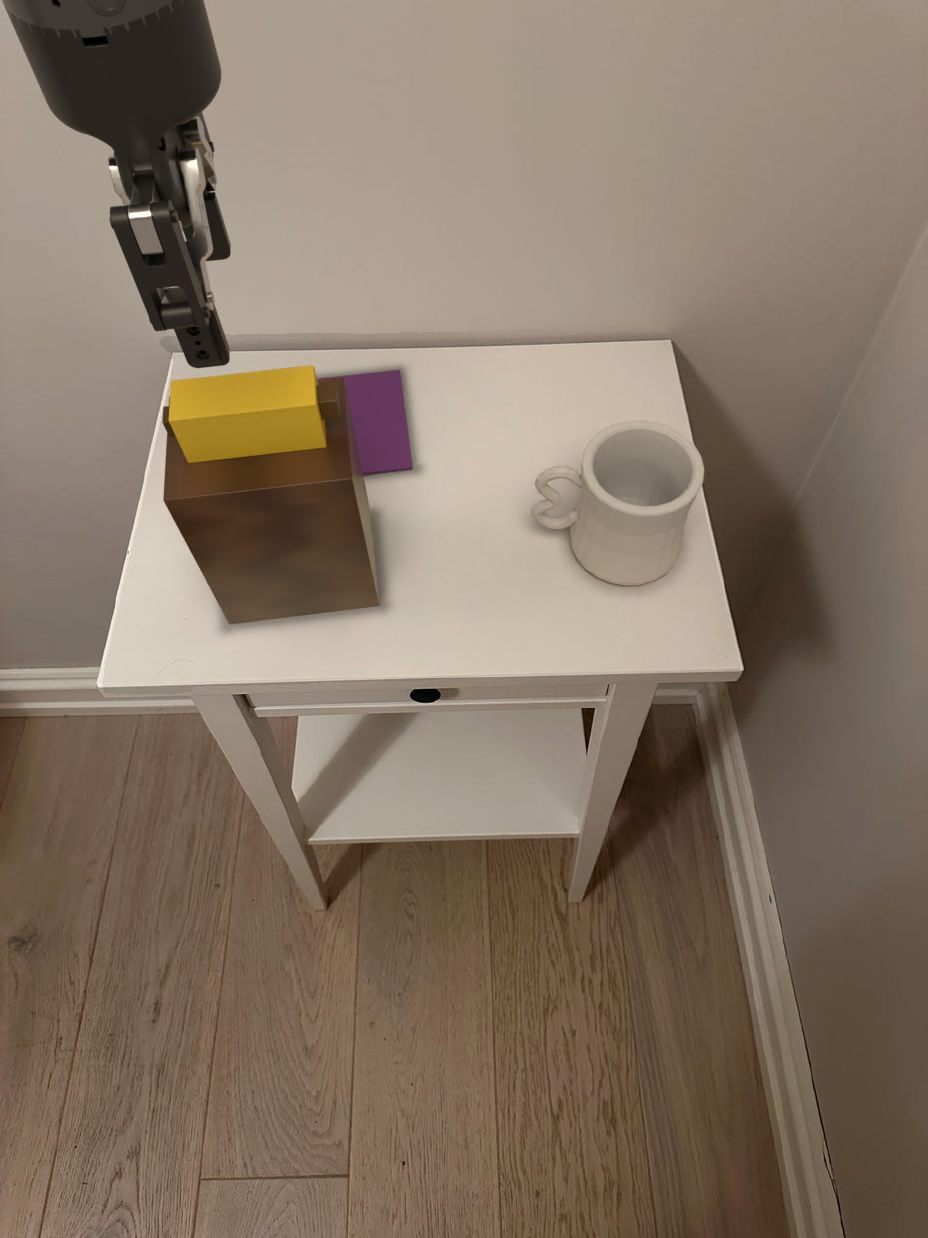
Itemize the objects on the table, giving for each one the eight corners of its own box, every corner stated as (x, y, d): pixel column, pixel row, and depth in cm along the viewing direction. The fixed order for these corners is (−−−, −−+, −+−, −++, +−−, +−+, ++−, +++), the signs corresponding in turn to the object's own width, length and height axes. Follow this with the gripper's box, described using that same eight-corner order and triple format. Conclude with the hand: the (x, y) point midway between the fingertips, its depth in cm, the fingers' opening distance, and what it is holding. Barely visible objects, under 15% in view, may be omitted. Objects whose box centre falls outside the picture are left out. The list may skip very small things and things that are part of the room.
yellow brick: (175, 464, 55) (155, 422, 52) (177, 425, 57) (157, 381, 54) (345, 445, 56) (335, 401, 52) (342, 407, 58) (332, 362, 54)
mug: (677, 502, 73) (703, 420, 64) (681, 593, 68) (710, 518, 60) (532, 494, 74) (538, 412, 65) (526, 583, 69) (532, 509, 61)
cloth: (253, 487, 75) (252, 485, 74) (252, 387, 81) (251, 385, 80) (412, 469, 75) (412, 467, 75) (400, 371, 81) (399, 369, 81)
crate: (229, 624, 68) (162, 500, 54) (229, 532, 72) (168, 396, 59) (379, 605, 69) (352, 478, 55) (371, 515, 73) (344, 376, 59)
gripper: (21, -103, 37) (151, 232, 51) (-31, 79, 30) (136, 410, 44) (197, -119, 37) (277, 219, 51) (186, 58, 30) (283, 394, 44)
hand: (212, 307), depth 47 cm, fingers open, 8 cm apart
